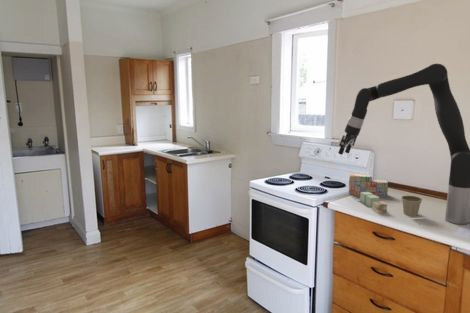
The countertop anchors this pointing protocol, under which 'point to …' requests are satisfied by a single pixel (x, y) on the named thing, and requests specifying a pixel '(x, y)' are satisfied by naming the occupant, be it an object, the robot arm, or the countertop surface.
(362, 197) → the sage block far
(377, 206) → the maple block
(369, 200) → the sage block near
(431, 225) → the countertop surface
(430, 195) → the countertop surface
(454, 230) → the countertop surface
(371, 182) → the stack of blocks
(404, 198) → the flower pot
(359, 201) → the build mat
